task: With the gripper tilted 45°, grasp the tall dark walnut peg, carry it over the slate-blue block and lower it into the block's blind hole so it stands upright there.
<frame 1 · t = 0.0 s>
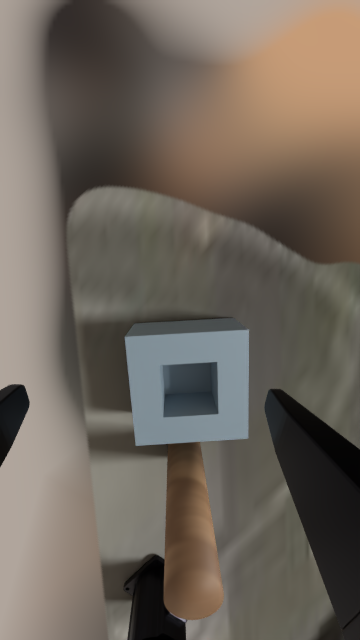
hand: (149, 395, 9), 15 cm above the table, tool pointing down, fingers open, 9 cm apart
hole block: (186, 367, 25), on the table
walnut peg: (183, 444, 27), on the table
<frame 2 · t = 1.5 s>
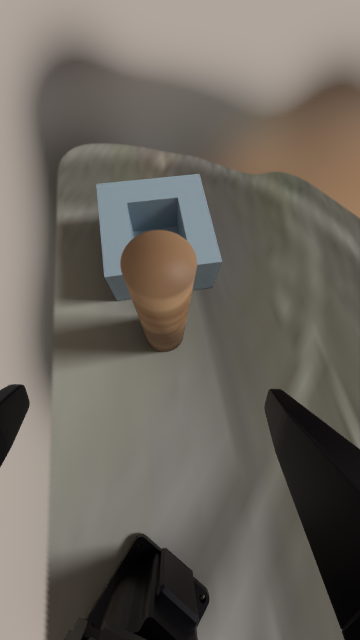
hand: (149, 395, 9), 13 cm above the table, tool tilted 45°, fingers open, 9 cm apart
hole block: (158, 252, 26), on the table
walnut peg: (165, 333, 24), on the table
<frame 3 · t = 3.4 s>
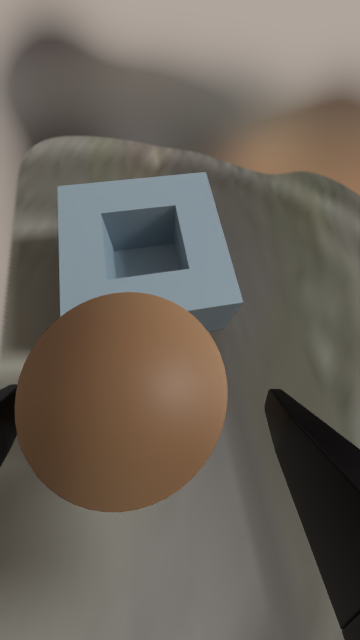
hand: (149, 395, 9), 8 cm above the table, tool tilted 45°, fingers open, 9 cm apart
hole block: (149, 279, 19), on the table
walnut peg: (157, 399, 16), on the table
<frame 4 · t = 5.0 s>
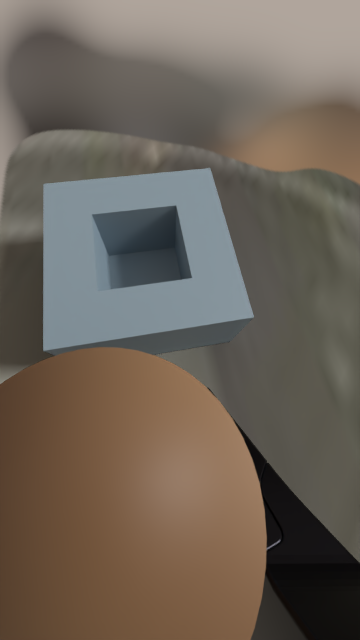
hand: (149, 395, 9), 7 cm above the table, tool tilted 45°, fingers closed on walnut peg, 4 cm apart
hole block: (147, 287, 18), on the table
walnut peg: (156, 422, 15), on the table, touching gripper
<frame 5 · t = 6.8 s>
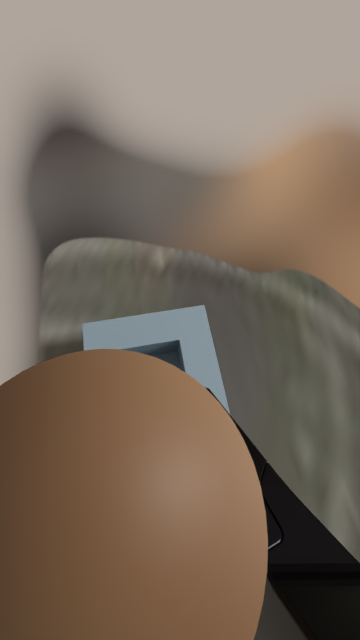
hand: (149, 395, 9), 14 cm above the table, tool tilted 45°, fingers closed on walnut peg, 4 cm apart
hole block: (156, 381, 23), on the table
walnut peg: (156, 423, 15), point 7 cm above the table, touching gripper
when the fingers open (9 cm above the table, at t = 8.8 s): walnut peg drops 1 cm, resting on hole block.
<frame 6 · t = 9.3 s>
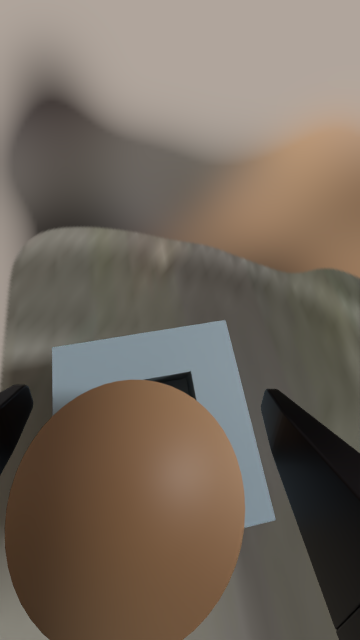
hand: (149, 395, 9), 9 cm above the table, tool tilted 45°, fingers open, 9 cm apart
hole block: (158, 419, 17), on the table
walnut peg: (157, 421, 16), point 1 cm above the table, touching hole block
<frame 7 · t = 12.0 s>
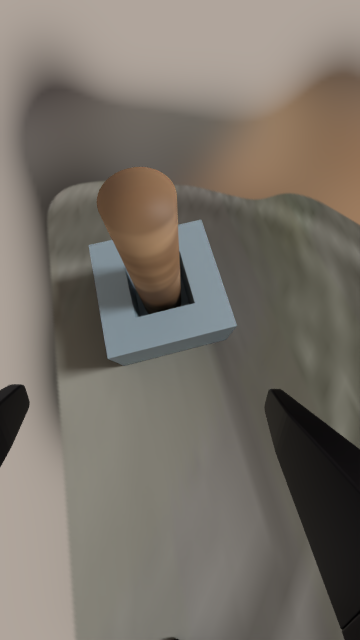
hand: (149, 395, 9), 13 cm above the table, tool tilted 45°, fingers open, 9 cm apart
hole block: (163, 304, 24), on the table
walnut peg: (162, 301, 23), point 1 cm above the table, touching hole block
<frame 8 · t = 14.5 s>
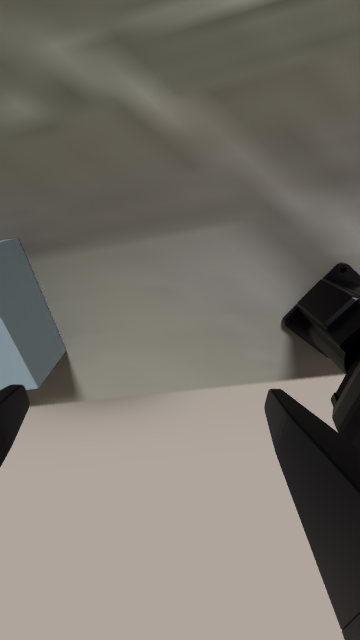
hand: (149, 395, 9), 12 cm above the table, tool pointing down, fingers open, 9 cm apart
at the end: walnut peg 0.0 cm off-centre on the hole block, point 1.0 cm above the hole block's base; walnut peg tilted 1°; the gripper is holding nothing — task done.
